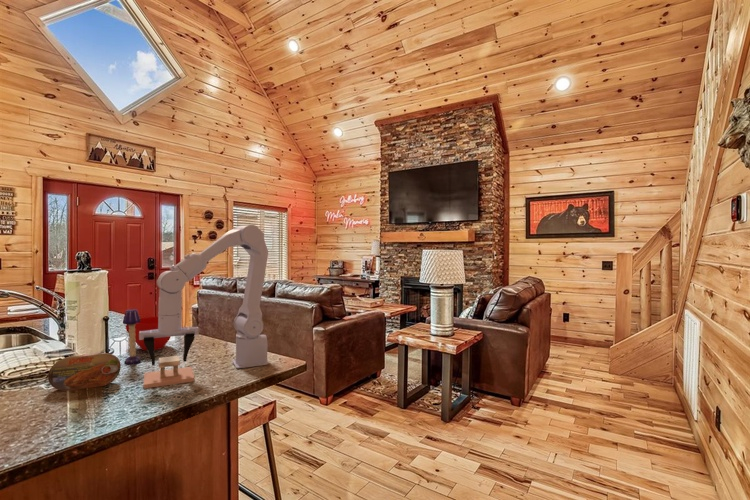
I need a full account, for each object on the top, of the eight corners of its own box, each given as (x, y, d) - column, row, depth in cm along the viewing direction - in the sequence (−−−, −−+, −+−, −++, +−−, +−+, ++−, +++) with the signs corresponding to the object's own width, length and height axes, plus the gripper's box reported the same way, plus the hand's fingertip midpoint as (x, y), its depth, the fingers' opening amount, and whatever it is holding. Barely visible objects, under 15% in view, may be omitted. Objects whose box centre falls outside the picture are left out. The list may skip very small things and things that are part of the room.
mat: (191, 370, 113) (191, 366, 113) (194, 381, 104) (194, 377, 104) (144, 376, 107) (144, 372, 107) (143, 388, 98) (143, 384, 98)
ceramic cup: (140, 341, 142) (140, 315, 142) (181, 344, 140) (181, 317, 139) (111, 351, 129) (112, 322, 129) (156, 354, 127) (156, 324, 127)
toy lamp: (131, 365, 115) (132, 311, 115) (118, 364, 116) (119, 310, 115) (143, 361, 120) (144, 308, 119) (131, 359, 120) (132, 308, 120)
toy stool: (178, 371, 109) (178, 355, 109) (179, 376, 104) (179, 360, 104) (158, 373, 106) (159, 357, 106) (158, 379, 102) (159, 363, 102)
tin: (47, 393, 94) (47, 359, 93) (51, 388, 96) (51, 356, 96) (119, 384, 101) (120, 353, 100) (121, 380, 103) (121, 350, 103)
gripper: (197, 309, 112) (196, 355, 112) (140, 313, 105) (139, 361, 105) (199, 314, 106) (198, 361, 106) (139, 317, 99) (138, 369, 99)
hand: (169, 362), depth 105 cm, fingers open, 7 cm apart
